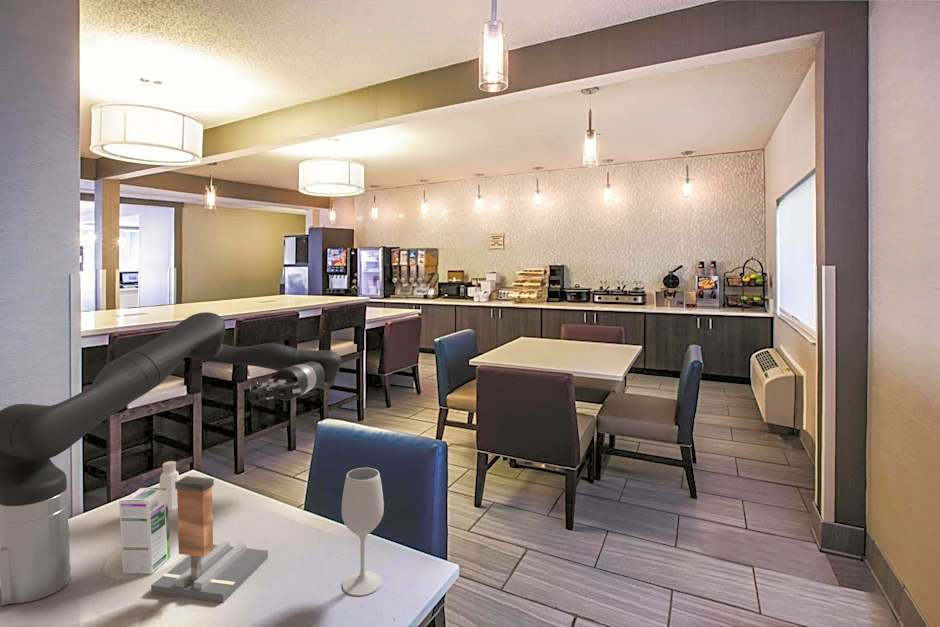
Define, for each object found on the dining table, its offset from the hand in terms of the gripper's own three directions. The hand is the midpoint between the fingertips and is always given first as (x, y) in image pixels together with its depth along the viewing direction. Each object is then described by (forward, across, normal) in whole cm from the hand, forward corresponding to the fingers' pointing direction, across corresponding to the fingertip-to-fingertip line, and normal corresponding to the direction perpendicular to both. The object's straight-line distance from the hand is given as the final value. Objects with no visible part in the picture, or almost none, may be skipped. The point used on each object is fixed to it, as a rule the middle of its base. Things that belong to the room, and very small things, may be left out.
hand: (251, 397), depth 104 cm
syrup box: (+12, -15, +31) cm, 37 cm away
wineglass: (+9, +28, +31) cm, 43 cm away
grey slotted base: (+12, 0, +31) cm, 34 cm away
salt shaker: (-10, -29, +31) cm, 44 cm away
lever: (+17, 0, +29) cm, 34 cm away
